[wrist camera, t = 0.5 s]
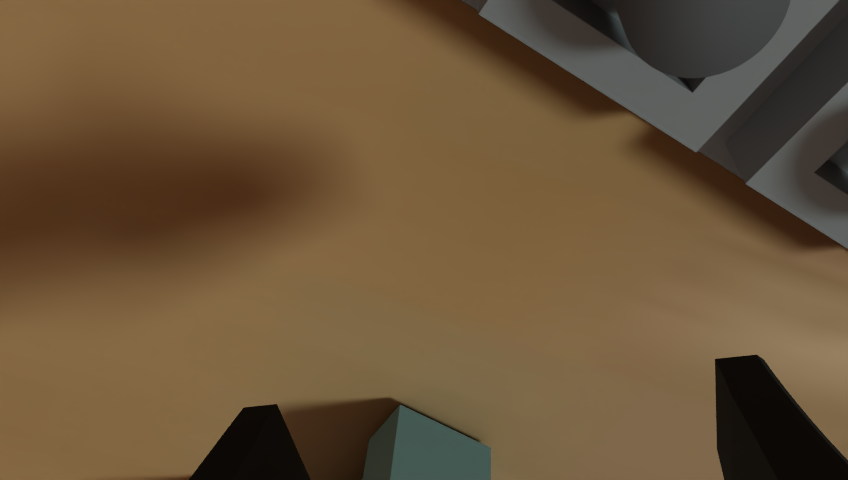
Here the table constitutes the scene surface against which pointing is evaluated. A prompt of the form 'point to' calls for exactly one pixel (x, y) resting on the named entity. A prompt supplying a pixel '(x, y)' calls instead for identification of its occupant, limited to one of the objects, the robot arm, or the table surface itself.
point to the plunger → (699, 32)
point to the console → (722, 96)
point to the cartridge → (424, 451)
